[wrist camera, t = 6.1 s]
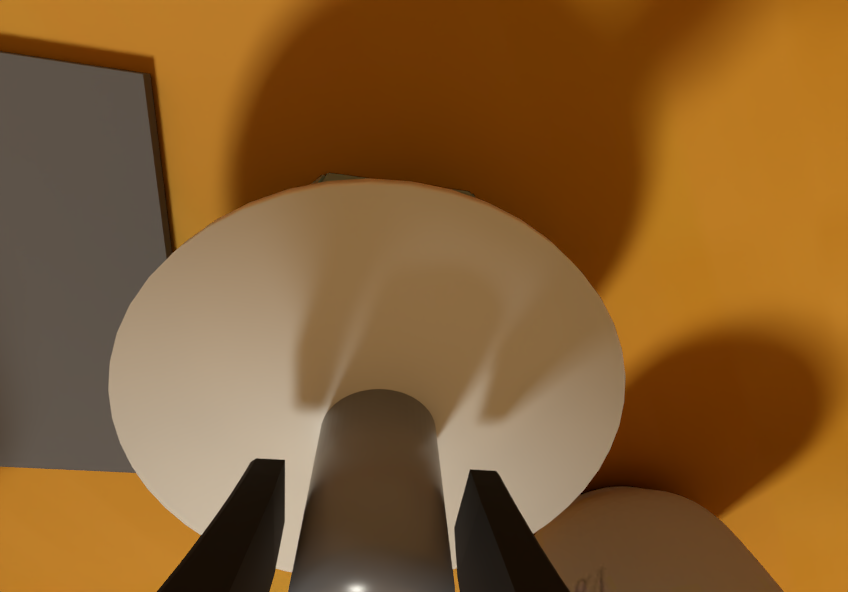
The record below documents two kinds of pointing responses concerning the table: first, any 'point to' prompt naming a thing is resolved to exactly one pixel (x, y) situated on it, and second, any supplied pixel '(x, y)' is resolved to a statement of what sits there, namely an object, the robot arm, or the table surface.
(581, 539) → the teacup
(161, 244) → the mat
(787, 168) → the table surface
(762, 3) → the table surface
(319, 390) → the lid
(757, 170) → the table surface
